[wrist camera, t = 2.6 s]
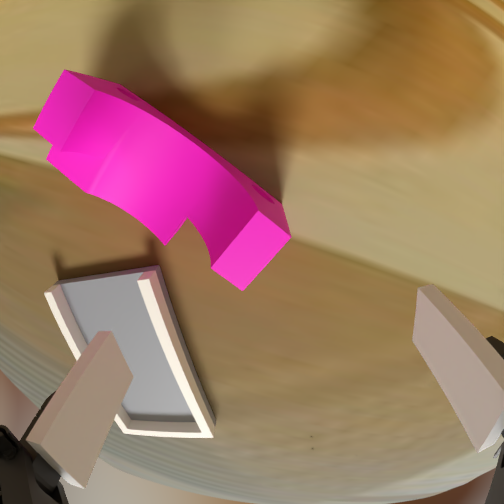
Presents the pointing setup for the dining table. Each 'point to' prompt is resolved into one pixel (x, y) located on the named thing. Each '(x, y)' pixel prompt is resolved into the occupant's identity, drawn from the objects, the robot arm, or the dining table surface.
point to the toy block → (160, 173)
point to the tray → (138, 348)
